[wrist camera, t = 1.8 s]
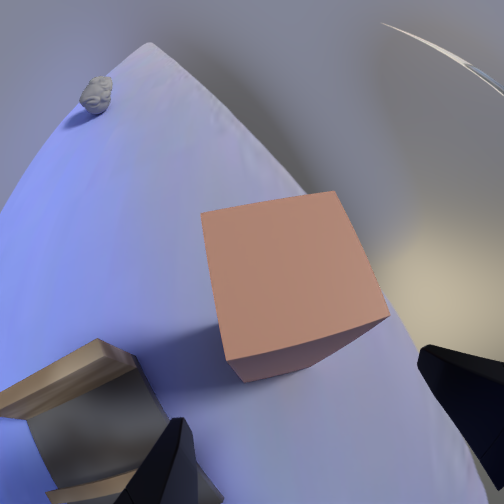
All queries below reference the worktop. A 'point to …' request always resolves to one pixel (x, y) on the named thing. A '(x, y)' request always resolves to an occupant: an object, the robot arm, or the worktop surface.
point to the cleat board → (93, 423)
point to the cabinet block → (288, 283)
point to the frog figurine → (97, 95)
